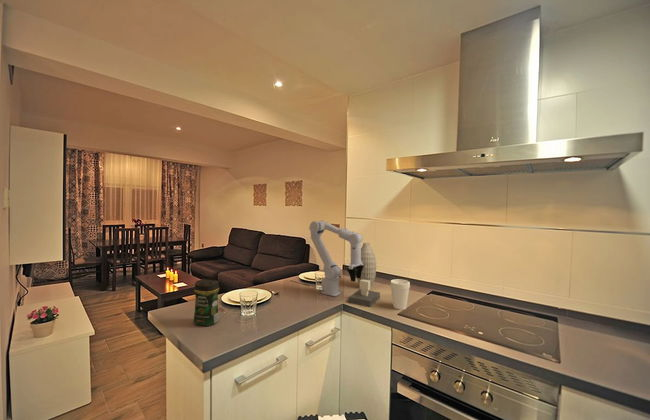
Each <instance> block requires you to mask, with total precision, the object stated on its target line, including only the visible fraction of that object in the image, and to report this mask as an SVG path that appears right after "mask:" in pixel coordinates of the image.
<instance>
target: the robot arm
mask: <svg viewBox="0 0 650 420" xmlns="http://www.w3.org/2000/svg"><path fill="white" fill-rule="evenodd" d="M308 229H309V231H310V238H311V242H312V243H313V245H314V247H315V248H316V251H317V254H318V255H319V257H320V260H321V261H322V264H323V268H322V269H323V272H324V276H325V277H324V278H323V279H322V281H321V294H323V295H326V296H332V297H337V296H339V295H340V294H342V291H340V275H341V273H342V269H341V268H340V266H339V265H338V264H337V263H336V262H335V261H334V260H333V259H332V257H331V255H330V253H329V251H328V248H326V245H325V243H324V240H322V238H321V237H322V235H323V233H324V232H325V231H326V230H327V231H329V232H330V233H333V234H336V235H338V237H339V238H341V239H343V240H344V241H347V242H348V243H349V244H350V263H349V265H348V267H347V272H348V274H349V277H350V281H351V282H355V283H356V280H357V278H361V274H362V270H363V268H364V265H363V263H362V261H361V248H362V246H361V245H362V241H363V236H362V235H361V234H360V233H358V232H355V231H351V230H349V229H348V228H347V227H342V228H339V227H337V226H335V225H334V224H331V223H330V222H328V221H324V220H318V221H317V220H314V221H312V222H311V223H310V224H309V227H308Z"/></svg>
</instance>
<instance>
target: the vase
mask: <svg viewBox="0 0 650 420" xmlns="http://www.w3.org/2000/svg"><path fill="white" fill-rule="evenodd" d="M370 244H371V243H370V242H363V243H362V246H361V261H362V263H363V265H364V268H363V270H362V274H361V278H357V277H356V280H357V282H358V285H359V286H360V280H362V279H363V280H370V289H371V287H372V286H373V285H374V283H375V279H376V273H377V260H376V255H375V253H374V251H373V249H372V248H371V246H370Z"/></svg>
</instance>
